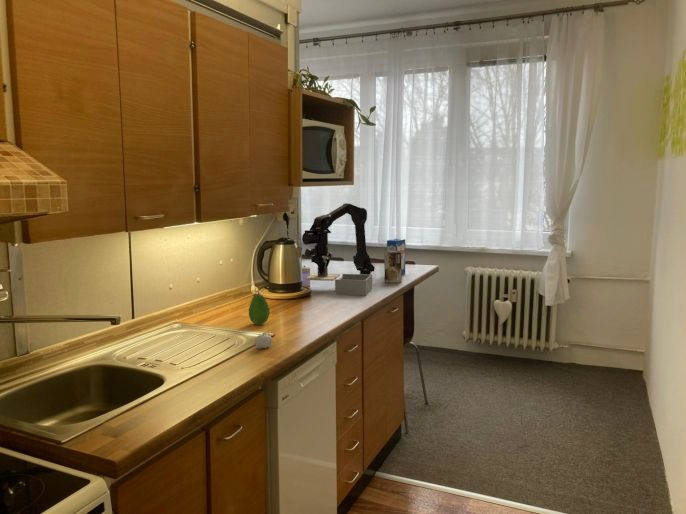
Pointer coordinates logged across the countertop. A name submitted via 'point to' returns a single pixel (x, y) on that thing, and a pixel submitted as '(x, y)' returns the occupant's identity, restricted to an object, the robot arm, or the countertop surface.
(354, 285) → the box
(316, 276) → the cover plate
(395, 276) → the coffee box
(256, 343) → the garlic
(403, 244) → the milk carton
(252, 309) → the avocado
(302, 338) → the countertop surface
